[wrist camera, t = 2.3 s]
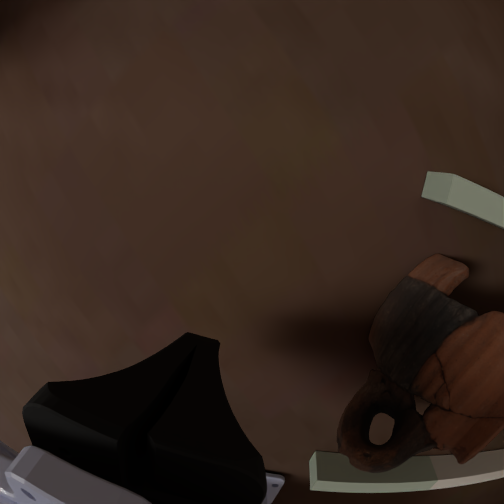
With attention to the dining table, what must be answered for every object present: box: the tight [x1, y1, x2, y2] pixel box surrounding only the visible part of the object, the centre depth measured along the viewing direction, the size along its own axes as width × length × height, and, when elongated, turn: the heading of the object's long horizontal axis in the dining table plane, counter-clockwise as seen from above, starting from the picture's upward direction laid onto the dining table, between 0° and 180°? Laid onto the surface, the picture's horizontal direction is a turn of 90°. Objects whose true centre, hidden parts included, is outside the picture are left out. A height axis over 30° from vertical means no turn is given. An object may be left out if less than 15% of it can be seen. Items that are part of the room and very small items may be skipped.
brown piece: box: [337, 254, 504, 473], centre depth 13 cm, size 12×10×8 cm
